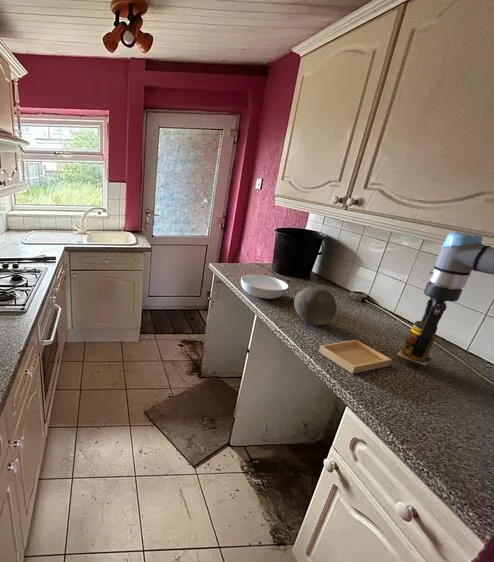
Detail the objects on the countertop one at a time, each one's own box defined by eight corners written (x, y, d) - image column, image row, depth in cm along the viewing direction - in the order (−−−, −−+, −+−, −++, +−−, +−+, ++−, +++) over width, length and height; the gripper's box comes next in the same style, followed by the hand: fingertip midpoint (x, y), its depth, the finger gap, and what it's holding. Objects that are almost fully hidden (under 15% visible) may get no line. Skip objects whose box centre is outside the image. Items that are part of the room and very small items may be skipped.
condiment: (395, 354, 102) (408, 322, 98) (404, 347, 106) (417, 315, 102) (425, 366, 96) (439, 332, 92) (433, 357, 101) (447, 325, 97)
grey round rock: (319, 316, 132) (329, 283, 126) (337, 333, 119) (349, 297, 113) (284, 313, 133) (293, 281, 127) (299, 330, 120) (309, 295, 114)
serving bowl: (294, 304, 142) (297, 290, 140) (248, 303, 142) (251, 289, 139) (272, 287, 162) (275, 274, 159) (232, 286, 161) (234, 273, 158)
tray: (353, 345, 111) (355, 339, 110) (389, 365, 100) (392, 359, 99) (318, 351, 107) (320, 345, 106) (352, 373, 96) (354, 367, 95)
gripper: (428, 274, 101) (403, 336, 109) (427, 289, 88) (399, 358, 96) (460, 280, 96) (432, 344, 104) (465, 297, 83) (432, 369, 91)
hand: (416, 351), depth 100 cm, fingers closed on condiment, 6 cm apart
